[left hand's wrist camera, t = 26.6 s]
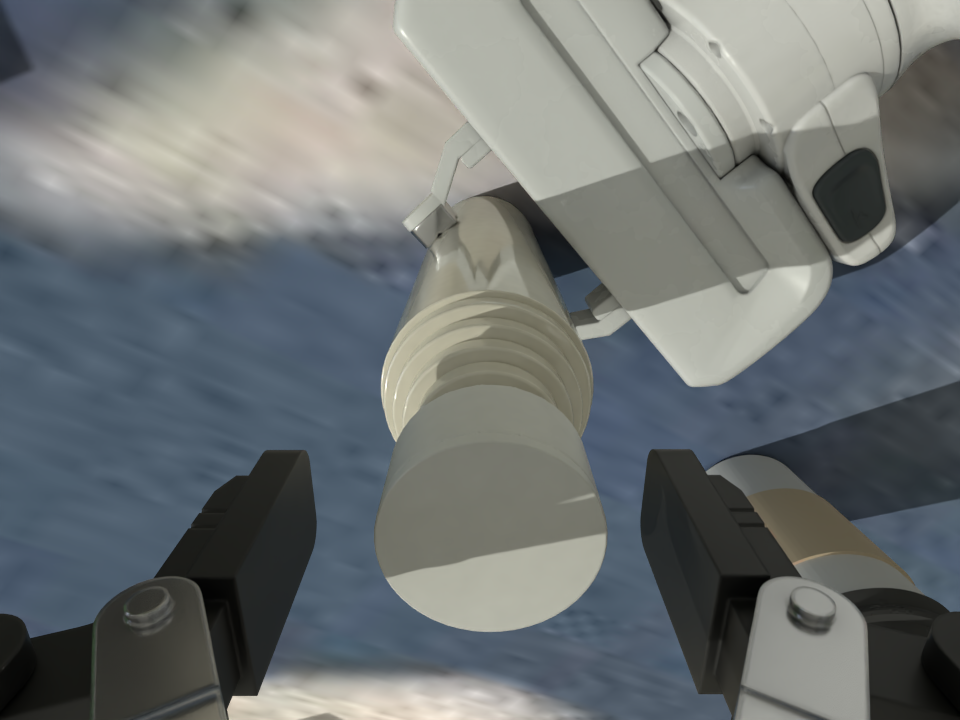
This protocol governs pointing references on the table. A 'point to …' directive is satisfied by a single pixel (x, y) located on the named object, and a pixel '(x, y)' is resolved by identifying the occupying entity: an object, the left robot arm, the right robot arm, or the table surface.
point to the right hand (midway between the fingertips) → (469, 293)
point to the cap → (490, 511)
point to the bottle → (486, 321)
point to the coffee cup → (830, 545)
